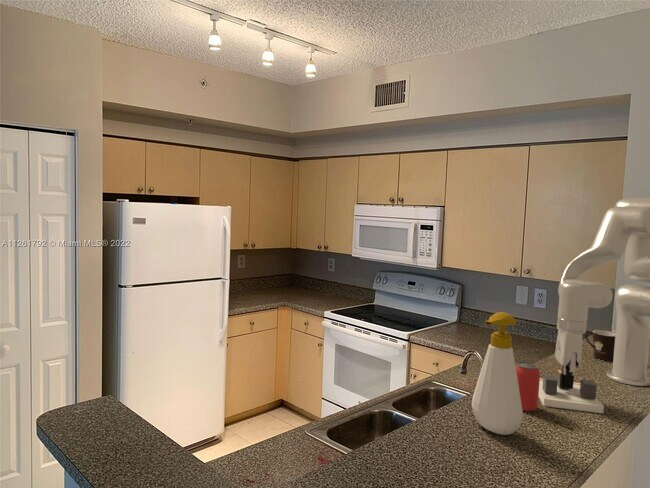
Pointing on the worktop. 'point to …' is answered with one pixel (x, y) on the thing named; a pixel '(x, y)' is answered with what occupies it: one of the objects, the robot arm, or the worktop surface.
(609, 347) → the coffee mug
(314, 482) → the worktop surface
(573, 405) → the breaker panel
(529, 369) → the beer can
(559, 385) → the block
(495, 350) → the soap bottle
